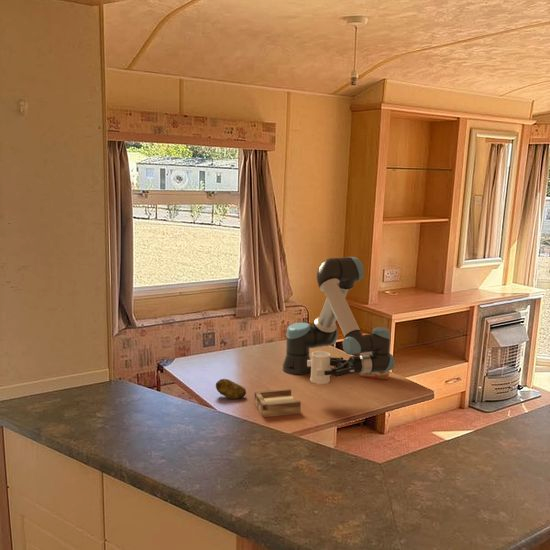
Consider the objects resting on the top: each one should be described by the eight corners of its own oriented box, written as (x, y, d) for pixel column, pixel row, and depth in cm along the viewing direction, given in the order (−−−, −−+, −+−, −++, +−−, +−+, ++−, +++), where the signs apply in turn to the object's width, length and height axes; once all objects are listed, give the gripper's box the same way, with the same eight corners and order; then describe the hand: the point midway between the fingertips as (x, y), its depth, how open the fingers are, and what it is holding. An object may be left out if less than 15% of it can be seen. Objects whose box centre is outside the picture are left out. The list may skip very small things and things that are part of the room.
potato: (239, 403, 244) (239, 385, 242) (213, 398, 248) (213, 381, 247) (247, 396, 251) (247, 379, 250) (221, 391, 256) (221, 374, 255)
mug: (329, 387, 236) (330, 360, 234) (308, 386, 237) (309, 358, 235) (330, 377, 248) (331, 351, 245) (310, 376, 249) (311, 350, 246)
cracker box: (389, 376, 279) (391, 335, 276) (387, 380, 274) (389, 338, 270) (361, 372, 284) (362, 332, 280) (358, 376, 278) (360, 335, 275)
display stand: (254, 402, 244) (254, 391, 243) (289, 399, 248) (290, 388, 247) (263, 417, 230) (263, 405, 229) (300, 413, 234) (300, 402, 233)
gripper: (370, 382, 235) (321, 386, 230) (348, 363, 258) (303, 366, 252) (371, 365, 234) (321, 369, 228) (349, 347, 256) (303, 350, 251)
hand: (311, 368), depth 240 cm, fingers closed on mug, 11 cm apart
